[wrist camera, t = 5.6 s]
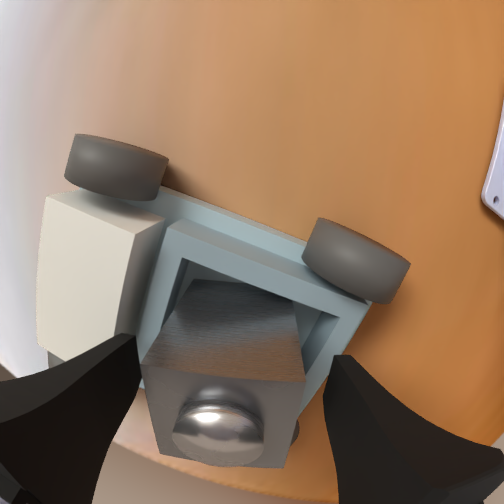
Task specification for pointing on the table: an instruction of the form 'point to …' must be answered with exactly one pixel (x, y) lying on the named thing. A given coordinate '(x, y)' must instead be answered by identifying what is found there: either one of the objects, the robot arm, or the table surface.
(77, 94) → the table surface
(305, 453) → the table surface
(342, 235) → the chassis
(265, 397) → the grey block with knob
